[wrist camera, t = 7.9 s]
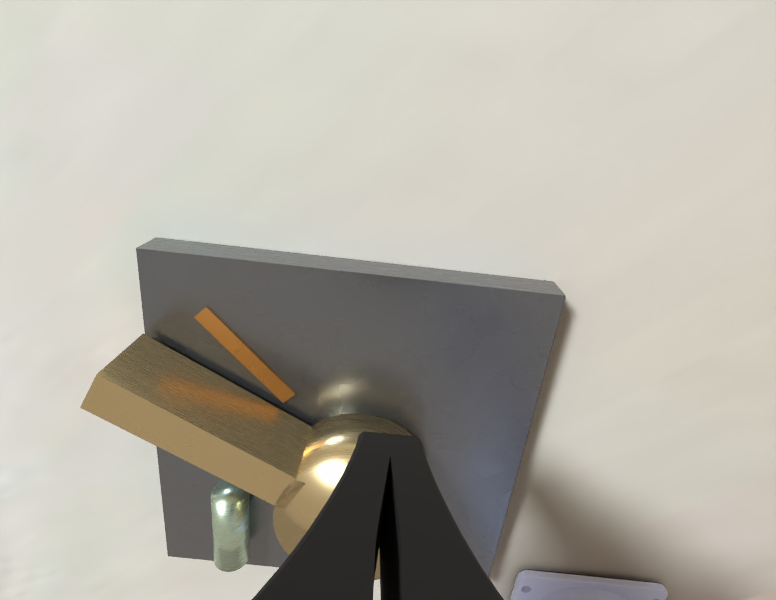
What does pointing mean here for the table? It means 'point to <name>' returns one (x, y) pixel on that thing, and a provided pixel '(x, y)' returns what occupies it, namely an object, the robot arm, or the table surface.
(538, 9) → the table surface
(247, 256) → the base plate
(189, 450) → the gold elongated piece
